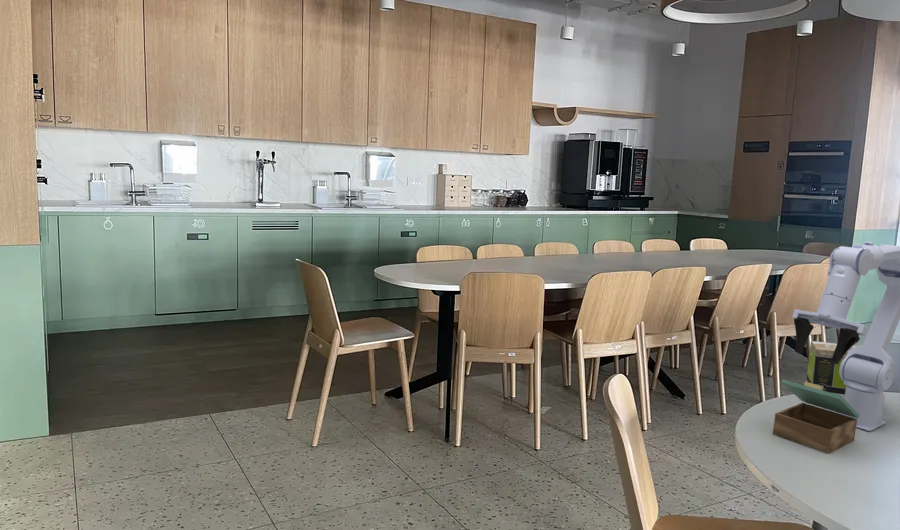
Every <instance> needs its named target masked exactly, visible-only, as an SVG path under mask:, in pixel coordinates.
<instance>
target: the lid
mask: <svg viewBox="0 0 900 530" xmlns="http://www.w3.org/2000/svg"><path fill="white" fill-rule="evenodd" d="M781 384H782V385H783V386H785V387H786V388H787V389H788V390H789V391H790V392H791V393H793V394H794V395H795V396H796V397H797V398H798V399H799V400H800V401H801V402H802V403H806V404H809V405H812V406H815V407H819V408H822V409H825V410H829V411H832V412H835V413H838V414H844V415H848V416H851V417H854V418H859V414H858V413H857V412H856V411H855V410H854V409H853V408H852V407H851V405H850V404H849V403H848V402H847V401H846V400H845V399H844V398H843V397H842V396H840V395H837V394H833V393H830V392H826V391H823V387H822V386H819V385H816V384H812V383H809V382H806V381H804V383H803V384H801V383H798V382H795V381H790V380H787V379H784V378H782V380H781Z"/></svg>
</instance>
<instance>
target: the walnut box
mask: <svg viewBox="0 0 900 530" xmlns="http://www.w3.org/2000/svg"><path fill="white" fill-rule="evenodd" d="M856 425H857V419H855V418H852V417H848V416H845V415H842V414H841V413H838V412H835V411H831V410H828V409H825V408H821V407H818V406H815V405H811V404H808V403H805V402H801V403H798V404H795V405H793V406H790V407H788V408H785V409H783V410H780V411H778V412H775V413H774V423H773V428H772V429H773V430H772V435H773V436H777V437H779V438H782V439H784V440H788V441H790V442H794V443H796V444H799V445H802V446H805V447H807V448H810V449H813V450H816V451H818V452H821V453H825V454H826V455H827V454H831V453H833V452H834V451H836V450H838V449H840V448H843V447H845V446H846V445H848V444H850V443H852V442H854V441H855V437H856V431H857V427H856Z"/></svg>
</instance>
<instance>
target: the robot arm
mask: <svg viewBox="0 0 900 530" xmlns="http://www.w3.org/2000/svg"><path fill="white" fill-rule="evenodd" d="M828 266H829V267H828V270H827V276H828V277H827V281H826V284H825V287H824V290H823V293H822V295H821V298H820V301H819V303H818V306H817V309H816V312H814V311H807V310H801V309H795V308H794V309H793V313H792V316H791V317H792V319H793V323H794V329H795V348H794V352H795V353H797V354H799V355H802V354H803V352H804V349H805V347H806V343H807V341H808V339H809V337H810V334H811V333H812V331H813V329H814V327H815V326H814V325H815V324H816V325H819V326H823V327H828V328H832V329H837V330H839V333H838V339H837V346H836V349H835V351H834V354H833V356H832V360H831V361H832V362H833V363H834V364H838V363H839V362H840V360H841V359H842V357H843V356H844V355H845V353H846V352H847V351H848V350H849V349H850V348H851V347H852V346H853V345H856V344H858V342H859V341H860V339H861V338H860V336H864V337H865V339H864V342H863V344H861V345H856V346H857V347H854V348H852V349H850V350H849V352H848V354H847V355H846V357H845V358H844V359H843V360H842V362H841V365H840V369H839V374H840V377H841V379H842V380H843V381H844V383H843V384H845V385H846V391H845V398H844V399H845V400H846V401H847V402H848V403H849V404H850V405H851V407H852V408H853V409H854V410H855V411H856V412H857V413H858V414H859V418H855V419H857V425H856V429H857V428H858V429H861V430H863V431H866V432H867V431H868V432H871V431H873V430H875V429H877V428H879V427H882V426H884V425H885V424H886V423H887V422H886V421H884V420H882V419H883V412H884V406H885V400H886V399H885V398H886V395H885V393H884V392H885V391H887V390H888V389H889V388H890V387H891V385H892V382H893V380H894V374H895V369H896V363H895V361H894V360H893V358H892V357H891V355H890V354H889V353H888V349H889V347H890V345H891V342H892V339H893V336H894V335H895V333H896V330H897V327H898V325H899V323H900V245H895V244H893V245H892V244H885V243H879V245H877V244H874V242H873V241H870V242H869V241H864V242H863V244H857V243H855V244H853V246H851V247H850V246H843V245H842V246H839V247H836V248H834V249H833V251H832V252H831V254H830V256H829V265H828ZM871 270H872V271H873V270H876V273H877V276H878V280H879V281H880V282H881V283H883V284H884V285H885V286H886V289H885V291H884V293H883V296H882V299H881V301H880V304H879V306H878V308H877V311H876V313H875V316H874V317H873V319H872V323H871V325H870V328H869V330H868V326H866V325H865V324H862V323H858V322H855V321H853V320H852V321H851V320H848V319H847V316H848V314H849V311H850V308H851V305H852V304H853V300H854V297H855V294H856V292H857V290H858V289H857V288H858V286H859V284H860V283H859V282H860V280H861V277H862V276H863V277H865V276H866V275H868V273H869V272H870V271H871ZM813 324H814V325H813ZM867 331H868V332H867ZM866 334H867V335H866ZM842 415H844V414H842ZM845 416H848V415H845ZM848 417H851V416H848ZM852 418H854V417H852Z"/></svg>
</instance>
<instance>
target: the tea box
mask: <svg viewBox="0 0 900 530" xmlns="http://www.w3.org/2000/svg"><path fill="white" fill-rule="evenodd" d="M836 346H837V343H835V342H825V341H817V340H816V341H815V340H811V341H810V346H809V355H808V364H807V371H806V377H805V378H806V379H805V382H809V383H812V384H816V385H819V386H822V387H823V391H826V392H830V393H833V394H837V395H840V396H842V397H843V398H845V391H846V385H845V384H843V383H844V381H843V380H842V379H841V377H840V374H839V369H840V365H841V362H842V360H843V359H844V358H845V357H846V355H847V354H848V352H849V350H850V349H852V348H854V347H857V346H858V345H856V344H854V345H853V346H852V347H851V348H850V349H849V350H848V351H847V352H846V353H845V355H844V356H843V357H842V359H841V360H840V362H839V363H838V364H834V363H833V362H832V361H831V360H832V356H833V354H834V351H835V349H836Z"/></svg>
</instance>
